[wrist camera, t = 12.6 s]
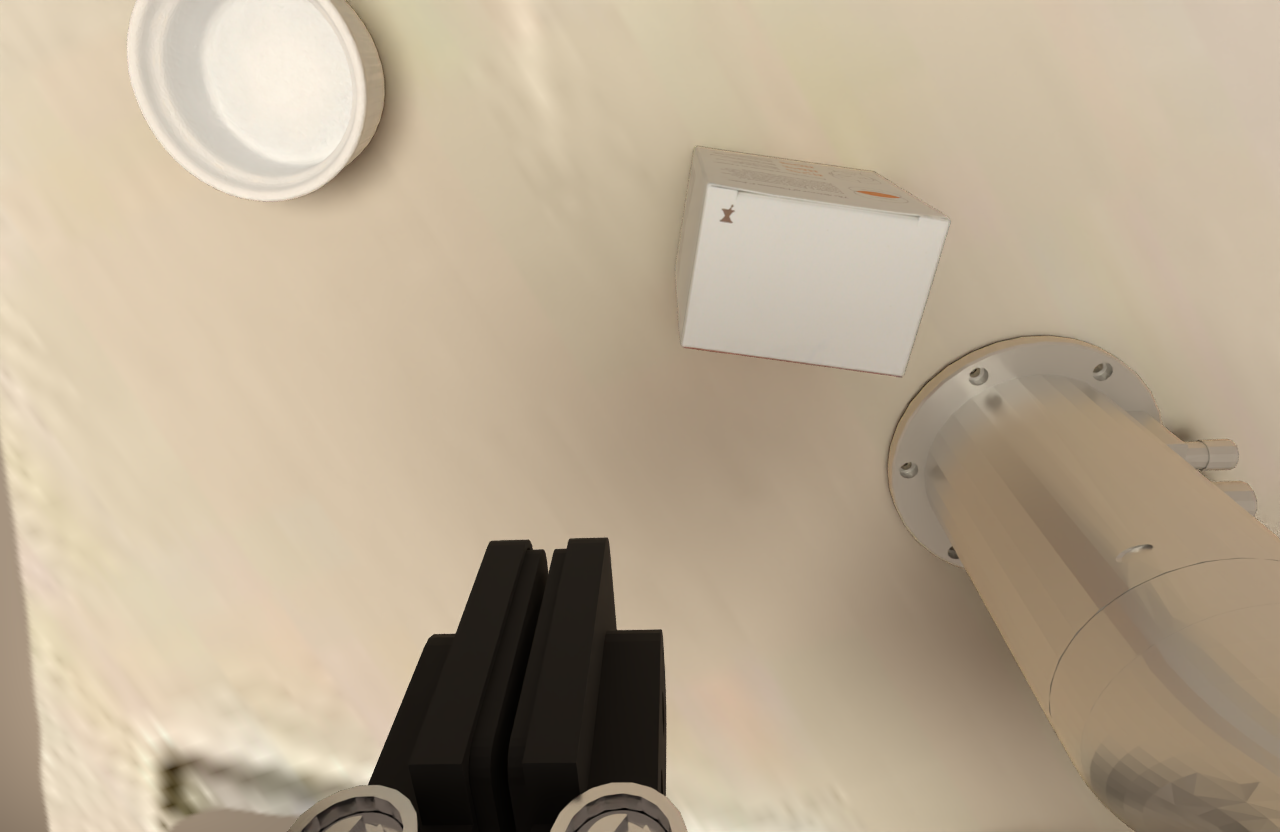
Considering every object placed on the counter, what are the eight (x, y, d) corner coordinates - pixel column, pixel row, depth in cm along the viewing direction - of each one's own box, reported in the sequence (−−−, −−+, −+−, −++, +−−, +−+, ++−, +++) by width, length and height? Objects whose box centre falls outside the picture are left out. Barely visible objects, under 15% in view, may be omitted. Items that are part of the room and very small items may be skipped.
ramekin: (204, -83, 32) (138, -100, 28) (422, 8, 33) (388, 4, 29) (174, 139, 36) (112, 152, 32) (372, 214, 37) (337, 236, 33)
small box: (673, 269, 37) (672, 349, 28) (693, 141, 35) (701, 180, 25) (847, 295, 37) (906, 383, 28) (879, 169, 35) (956, 219, 25)
